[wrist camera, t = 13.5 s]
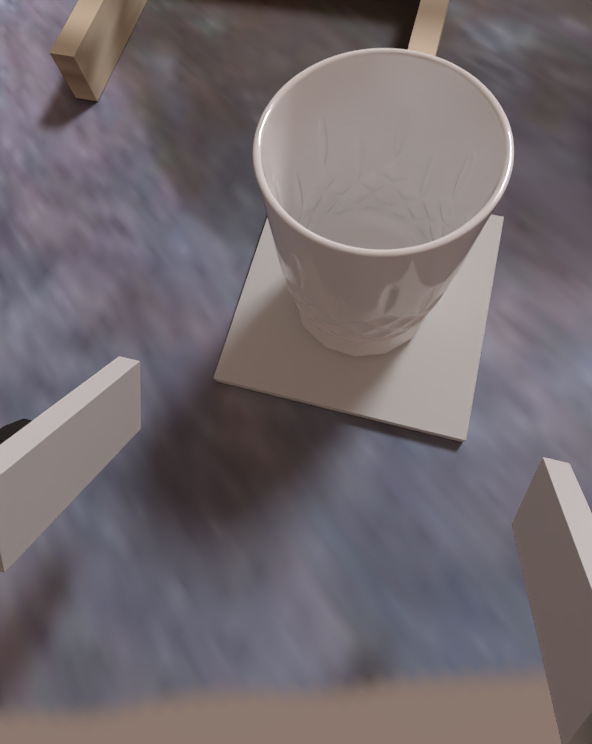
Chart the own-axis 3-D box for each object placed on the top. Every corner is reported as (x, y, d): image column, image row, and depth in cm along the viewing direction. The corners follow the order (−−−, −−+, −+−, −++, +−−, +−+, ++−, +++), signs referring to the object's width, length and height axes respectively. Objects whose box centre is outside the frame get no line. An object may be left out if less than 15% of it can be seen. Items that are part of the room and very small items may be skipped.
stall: (412, 154, 27) (422, 110, 25) (75, 97, 30) (49, 52, 28) (453, -14, 31) (465, -69, 28) (151, -50, 34) (134, -102, 31)
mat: (215, 381, 24) (213, 378, 23) (281, 182, 27) (280, 176, 27) (463, 442, 22) (465, 440, 22) (500, 222, 26) (503, 216, 25)
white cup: (390, 400, 23) (433, 304, 13) (251, 318, 24) (202, 180, 15) (470, 271, 24) (559, 104, 15) (336, 203, 26) (339, 15, 17)
